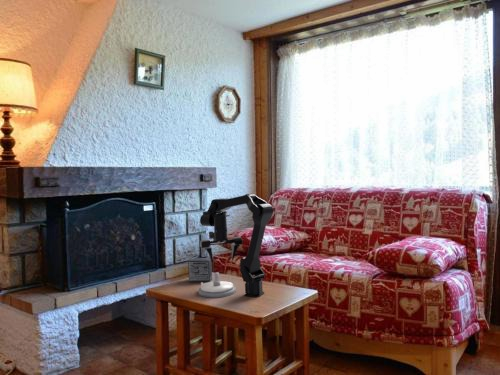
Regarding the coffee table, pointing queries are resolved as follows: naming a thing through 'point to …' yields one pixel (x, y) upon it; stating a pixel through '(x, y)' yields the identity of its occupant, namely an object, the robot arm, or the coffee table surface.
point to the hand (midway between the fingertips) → (222, 261)
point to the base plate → (215, 295)
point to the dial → (216, 285)
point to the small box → (200, 270)
